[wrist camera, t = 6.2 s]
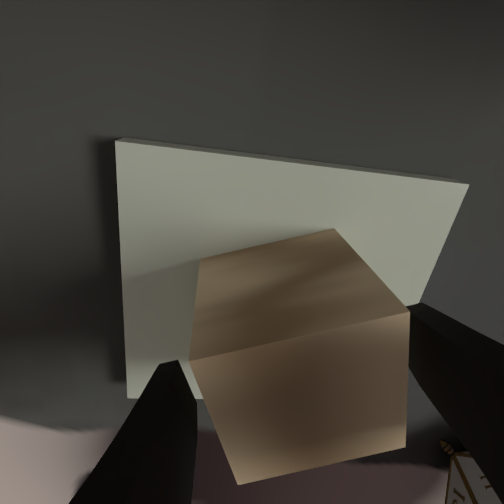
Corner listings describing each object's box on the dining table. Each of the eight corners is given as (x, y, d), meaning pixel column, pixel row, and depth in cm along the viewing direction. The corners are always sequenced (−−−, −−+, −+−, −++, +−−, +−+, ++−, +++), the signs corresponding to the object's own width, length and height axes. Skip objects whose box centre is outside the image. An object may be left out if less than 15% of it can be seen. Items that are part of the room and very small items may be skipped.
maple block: (334, 228, 11) (410, 311, 7) (343, 332, 14) (405, 447, 9) (199, 258, 11) (188, 361, 7) (231, 358, 14) (238, 485, 9)
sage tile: (450, 178, 12) (469, 184, 11) (368, 384, 17) (376, 400, 16) (123, 137, 10) (115, 140, 9) (133, 380, 15) (127, 398, 14)
